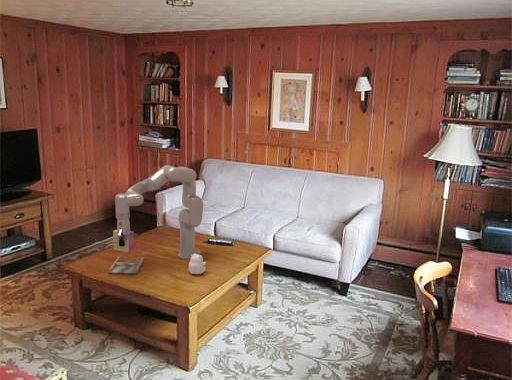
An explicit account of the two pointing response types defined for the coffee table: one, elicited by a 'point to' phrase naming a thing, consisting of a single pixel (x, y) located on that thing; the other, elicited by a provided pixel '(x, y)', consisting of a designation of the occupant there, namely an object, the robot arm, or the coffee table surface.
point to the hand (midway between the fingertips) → (123, 243)
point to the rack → (126, 266)
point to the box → (128, 241)
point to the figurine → (196, 264)
